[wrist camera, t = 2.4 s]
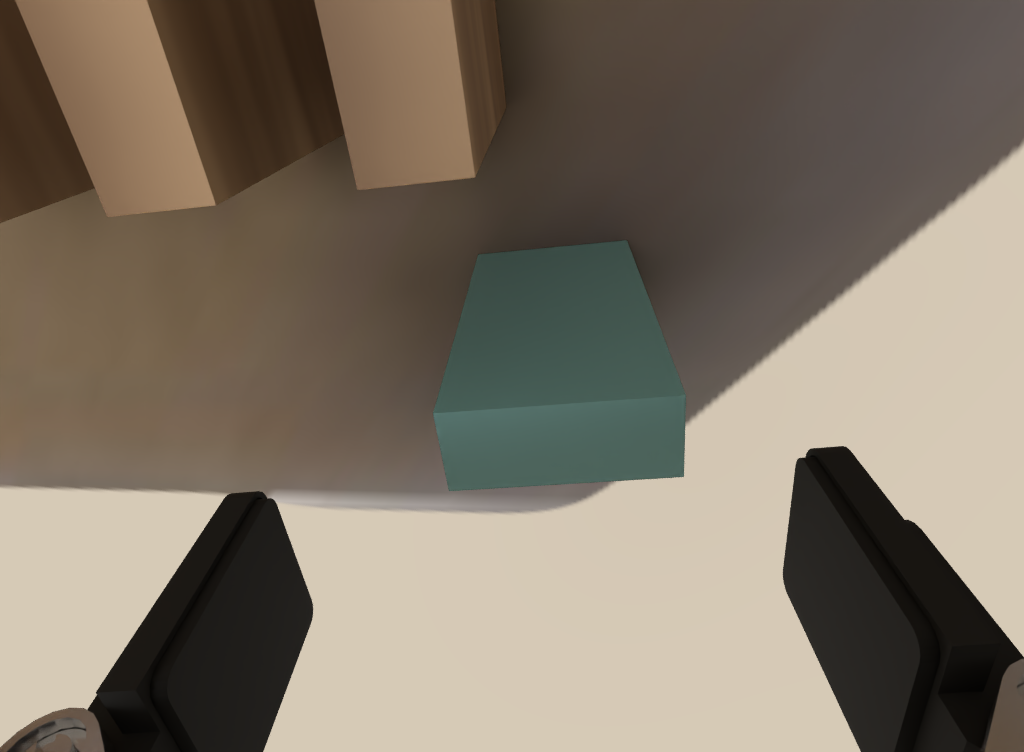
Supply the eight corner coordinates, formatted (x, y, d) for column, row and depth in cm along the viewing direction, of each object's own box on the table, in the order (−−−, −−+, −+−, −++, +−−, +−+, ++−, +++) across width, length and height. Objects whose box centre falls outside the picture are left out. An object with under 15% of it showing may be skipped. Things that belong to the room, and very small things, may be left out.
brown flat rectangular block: (320, -72, 17) (88, -171, 8) (362, 123, 20) (216, 205, 11) (250, -62, 17) (-47, -147, 9) (300, 130, 20) (107, 217, 11)
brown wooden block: (164, -49, 18) (-211, -118, 9) (224, 139, 20) (-24, 231, 11) (97, -39, 18) (-334, -97, 9) (164, 146, 20) (-125, 242, 11)
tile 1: (484, -97, 17) (419, -226, 8) (506, 107, 19) (475, 177, 10) (410, -86, 17) (268, -200, 8) (441, 114, 19) (357, 190, 11)
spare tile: (478, 254, 21) (433, 413, 13) (626, 240, 21) (685, 395, 12) (486, 308, 22) (449, 491, 14) (628, 296, 22) (684, 476, 13)
